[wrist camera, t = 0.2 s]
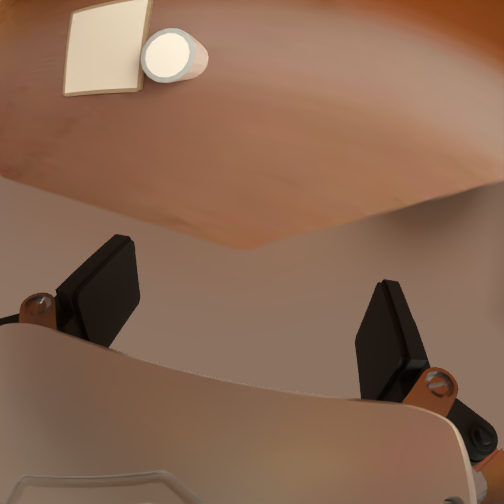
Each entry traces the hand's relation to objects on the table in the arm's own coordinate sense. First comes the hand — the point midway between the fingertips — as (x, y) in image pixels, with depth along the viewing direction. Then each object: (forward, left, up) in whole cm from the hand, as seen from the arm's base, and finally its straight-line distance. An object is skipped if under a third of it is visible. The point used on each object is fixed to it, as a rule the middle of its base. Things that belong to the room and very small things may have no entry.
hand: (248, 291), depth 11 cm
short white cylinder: (-11, -15, -31) cm, 36 cm away
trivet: (-14, -29, -31) cm, 44 cm away
